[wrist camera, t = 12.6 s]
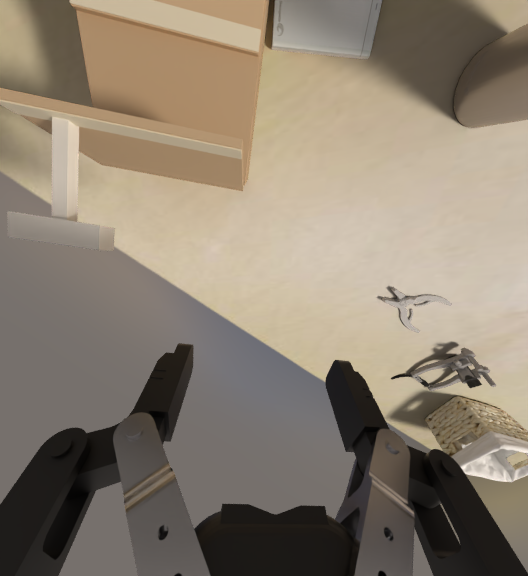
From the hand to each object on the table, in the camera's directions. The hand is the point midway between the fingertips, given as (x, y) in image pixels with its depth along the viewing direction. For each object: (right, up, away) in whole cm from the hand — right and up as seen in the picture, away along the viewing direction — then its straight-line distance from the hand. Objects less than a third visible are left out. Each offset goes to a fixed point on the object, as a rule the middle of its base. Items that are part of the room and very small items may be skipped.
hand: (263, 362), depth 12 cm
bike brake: (+48, -19, +48) cm, 70 cm away
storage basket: (+66, -37, +59) cm, 96 cm away
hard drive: (+7, +38, +14) cm, 41 cm away
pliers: (+33, 0, +36) cm, 49 cm away
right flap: (-10, +17, +7) cm, 21 cm away
